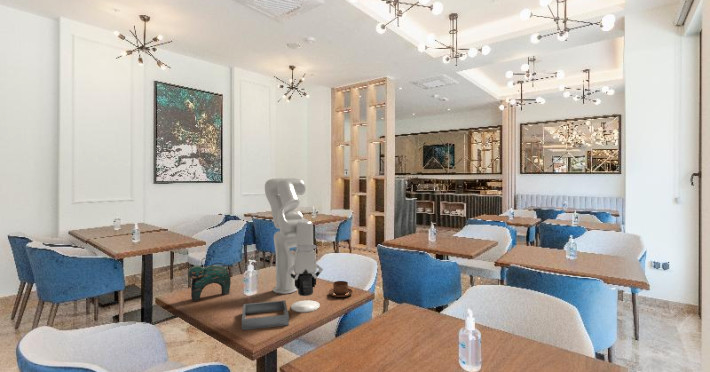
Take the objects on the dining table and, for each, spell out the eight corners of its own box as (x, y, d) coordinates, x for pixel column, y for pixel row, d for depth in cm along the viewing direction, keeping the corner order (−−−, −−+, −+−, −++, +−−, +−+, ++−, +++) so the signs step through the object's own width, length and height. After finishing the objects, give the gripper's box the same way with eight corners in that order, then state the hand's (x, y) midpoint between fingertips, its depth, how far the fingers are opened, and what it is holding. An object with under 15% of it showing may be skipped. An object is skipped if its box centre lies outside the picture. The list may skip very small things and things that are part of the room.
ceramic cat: (190, 303, 170) (189, 261, 170) (186, 299, 175) (185, 258, 175) (232, 294, 183) (231, 255, 182) (227, 291, 188) (226, 253, 187)
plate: (289, 303, 169) (289, 301, 169) (317, 300, 172) (317, 299, 172) (292, 313, 156) (292, 312, 156) (322, 310, 160) (322, 308, 160)
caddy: (243, 313, 157) (243, 304, 157) (285, 309, 162) (285, 300, 162) (241, 330, 140) (241, 320, 140) (288, 325, 145) (288, 315, 145)
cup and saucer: (357, 293, 183) (357, 281, 183) (343, 300, 173) (343, 288, 173) (337, 289, 189) (337, 278, 189) (323, 296, 179) (323, 284, 179)
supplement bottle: (315, 292, 166) (315, 266, 166) (309, 297, 160) (308, 270, 159) (302, 291, 168) (301, 265, 168) (295, 295, 162) (294, 269, 162)
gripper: (322, 245, 169) (322, 283, 170) (284, 247, 165) (285, 286, 165) (325, 248, 162) (325, 288, 163) (286, 251, 158) (286, 291, 158)
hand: (305, 287), depth 164 cm, fingers closed on supplement bottle, 6 cm apart
